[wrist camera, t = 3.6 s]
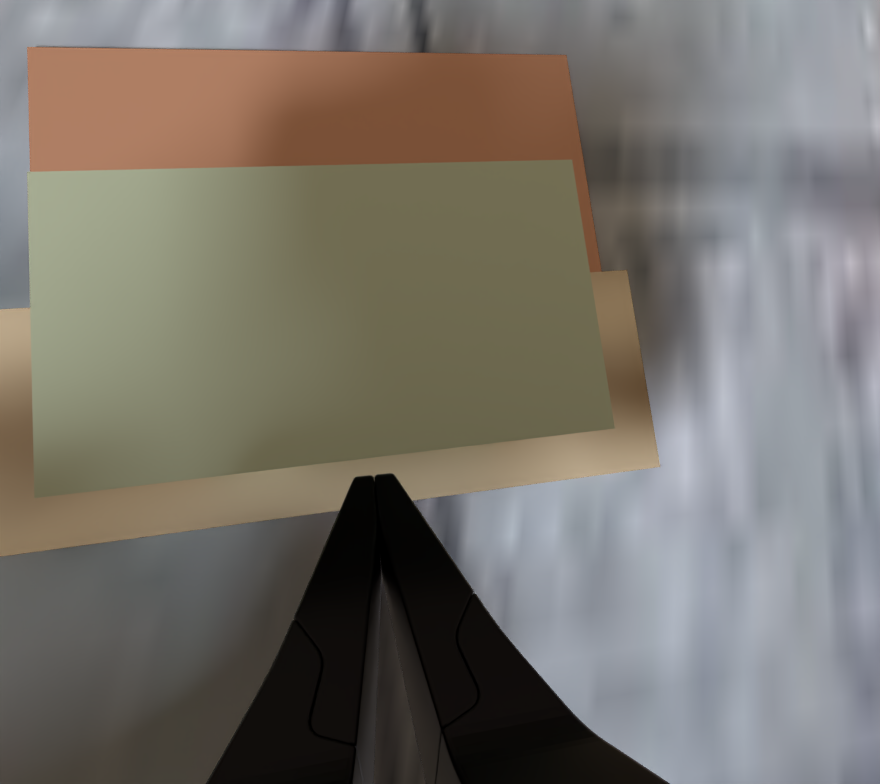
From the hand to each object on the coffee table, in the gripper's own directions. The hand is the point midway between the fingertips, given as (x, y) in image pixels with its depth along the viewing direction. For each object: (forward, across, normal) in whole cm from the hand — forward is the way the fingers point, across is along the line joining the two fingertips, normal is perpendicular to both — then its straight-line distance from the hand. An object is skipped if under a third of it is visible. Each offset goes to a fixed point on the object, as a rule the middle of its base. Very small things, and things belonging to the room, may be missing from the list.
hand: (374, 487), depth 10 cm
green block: (+6, 0, +1) cm, 6 cm away
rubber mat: (+13, +1, -3) cm, 13 cm away
